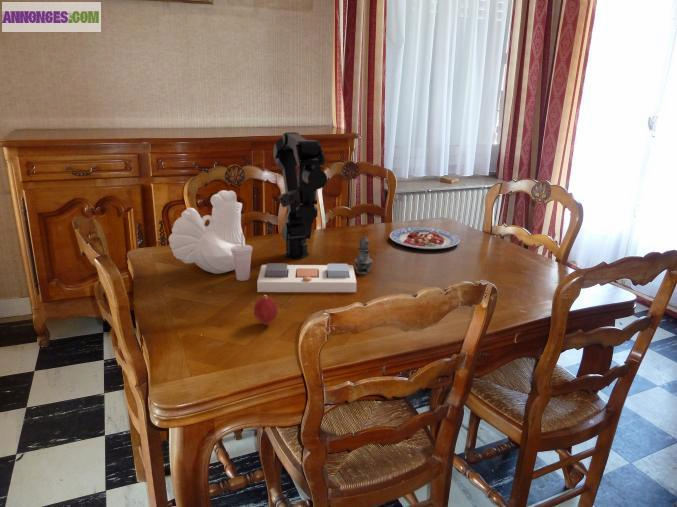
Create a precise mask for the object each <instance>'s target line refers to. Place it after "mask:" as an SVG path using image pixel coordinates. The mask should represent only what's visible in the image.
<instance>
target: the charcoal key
mask: <svg viewBox="0 0 677 507" xmlns="http://www.w3.org/2000/svg"><path fill="white" fill-rule="evenodd" d="M266 265H267V266H266V270H265V274H266V277H276V278H287V265H288V262H287V263H284V262H283V263H282V262H279V263H278V262H277V263H273V262H270V263H269V262H267V263H266Z"/></svg>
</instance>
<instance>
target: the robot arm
mask: <svg viewBox="0 0 677 507" xmlns="http://www.w3.org/2000/svg"><path fill="white" fill-rule="evenodd" d="M273 158H274V159H275V164H276V166H277V167H278V168H279V170H280V171H282V178H283V183H284V191H285V193H282V194H279V196H278V199H279V202H280V204H281V207H282V208H287V210H288V212H287V215H286V218H285V219H284V224H283V228H282V230H281V234H282V239H284V241H285V253H284V254H283V256H284V257H286V258H291V259H294V260H295V259H296V260H300V259H302V258H305V257H307V256H309V254H310V253H309V252H308V243H307V240H310V239H311V237H312V236H311V235H312V228H313V224H314V221H315V220H316V218H318V212H319V211H318V210H319V209H318V207H317V206H316V205H318V196H317V193H318V192H317V191H318V190H321V189H323V188H324V187H325V186H326V184H327V182H328V176H327V174H326V172H325V171H324V170H323V169H321V166H325V159H326V158H325V155H324V150H323V148H322V145H321V144H320V143H319V141H318V140H317V139H316V140H315V139H306V138H305V137H303V136H302V135H300V133H299V132H295V131H294V132H293V131H292V132H288V131H287V132H285V133H283V134H282V136H281V137H280V138H279V139H278V140H277V141H275V143H274V146H273ZM296 168H297V169H296Z"/></svg>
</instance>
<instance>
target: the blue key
mask: <svg viewBox="0 0 677 507" xmlns="http://www.w3.org/2000/svg"><path fill="white" fill-rule="evenodd" d="M326 265H327V275H328V278H349V269H348V265H349V264H348V263H327V264H326Z"/></svg>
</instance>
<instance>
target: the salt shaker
mask: <svg viewBox="0 0 677 507" xmlns="http://www.w3.org/2000/svg"><path fill="white" fill-rule="evenodd" d="M369 246H370V239H369V238H368V237H366V235H365V234H364V235H363V237H362V238H360V239H359V248H358V257H356V258H355V259H354V264H355V267H356V268H355V269H354V273H356V272H357V274H358V273H360V274H359V275H369V274H371V273H372V269H370V268H371V267H372V263H373V262H374V261H373V259H372V258H370V256H369V255H370V254H369V252H370V248H369ZM368 273H369V274H368Z"/></svg>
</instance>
